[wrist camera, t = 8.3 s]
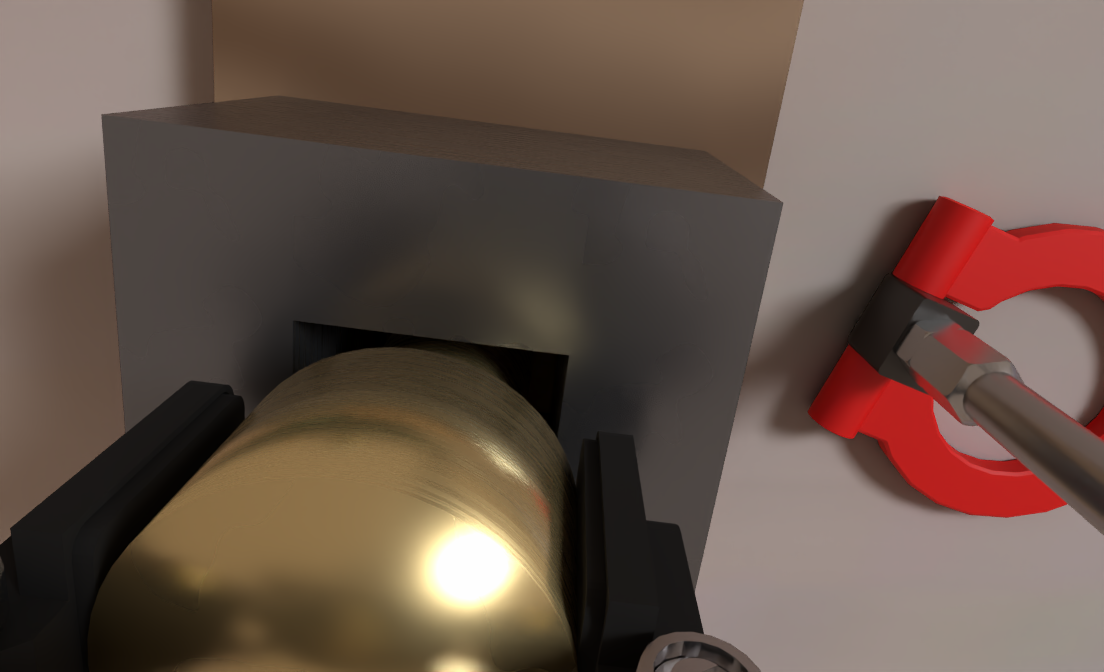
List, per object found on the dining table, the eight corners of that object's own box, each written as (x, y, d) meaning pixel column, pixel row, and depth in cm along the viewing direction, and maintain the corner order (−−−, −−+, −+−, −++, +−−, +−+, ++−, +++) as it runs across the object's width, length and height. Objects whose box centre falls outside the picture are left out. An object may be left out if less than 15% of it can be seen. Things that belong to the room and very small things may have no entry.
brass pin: (348, 232, 16) (64, 446, 7) (592, 263, 16) (613, 514, 7) (341, 448, 18) (106, 838, 9) (561, 476, 18) (547, 889, 9)
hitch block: (278, 95, 18) (100, 114, 11) (705, 150, 18) (783, 202, 11) (278, 472, 21) (142, 659, 14) (636, 516, 21) (665, 721, 15)
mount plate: (230, -623, 15) (193, -696, 13) (897, -526, 15) (931, -589, 13) (246, 498, 23) (225, 527, 22) (671, 550, 23) (677, 581, 22)
